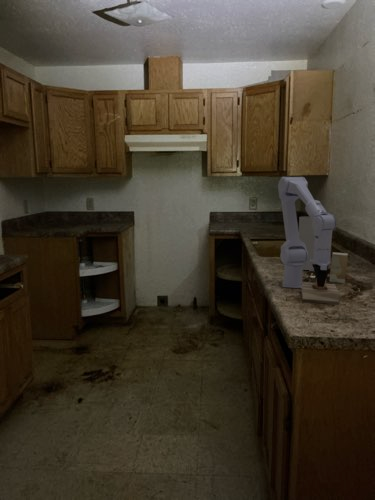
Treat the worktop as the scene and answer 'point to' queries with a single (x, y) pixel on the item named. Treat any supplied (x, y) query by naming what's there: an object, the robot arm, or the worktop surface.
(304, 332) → the worktop surface
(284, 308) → the worktop surface
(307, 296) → the socket block
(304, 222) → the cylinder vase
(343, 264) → the skincare box
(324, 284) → the peg
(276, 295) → the worktop surface
